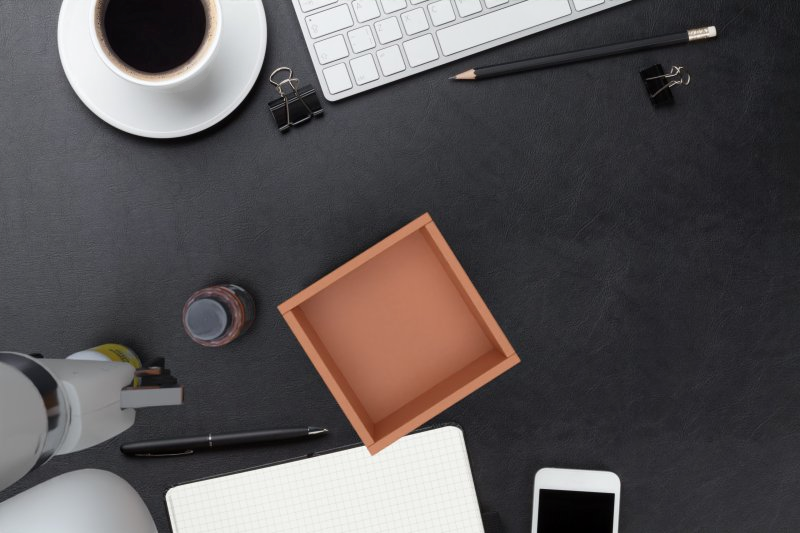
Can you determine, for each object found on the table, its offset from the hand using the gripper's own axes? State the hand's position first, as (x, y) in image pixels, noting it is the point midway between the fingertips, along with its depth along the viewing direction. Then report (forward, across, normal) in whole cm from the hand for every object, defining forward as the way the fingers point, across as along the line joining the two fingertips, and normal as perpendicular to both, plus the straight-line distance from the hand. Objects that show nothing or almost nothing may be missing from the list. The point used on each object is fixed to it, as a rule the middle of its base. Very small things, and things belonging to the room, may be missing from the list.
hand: (99, 374), depth 61 cm
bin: (-2, +24, +5) cm, 24 cm away
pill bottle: (+22, -6, -3) cm, 23 cm away
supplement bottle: (+22, +6, +4) cm, 23 cm away
